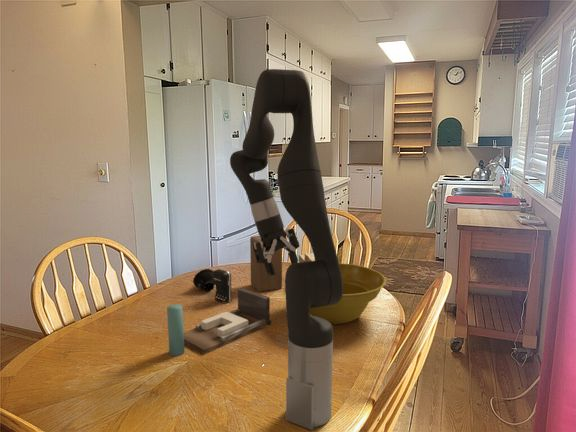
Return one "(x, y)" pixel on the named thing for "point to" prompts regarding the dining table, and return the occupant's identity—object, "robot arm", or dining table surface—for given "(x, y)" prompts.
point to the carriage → (224, 323)
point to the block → (258, 270)
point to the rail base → (248, 308)
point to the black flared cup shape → (204, 280)
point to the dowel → (175, 329)
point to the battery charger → (222, 285)
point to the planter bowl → (352, 294)
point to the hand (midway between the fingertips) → (284, 269)
